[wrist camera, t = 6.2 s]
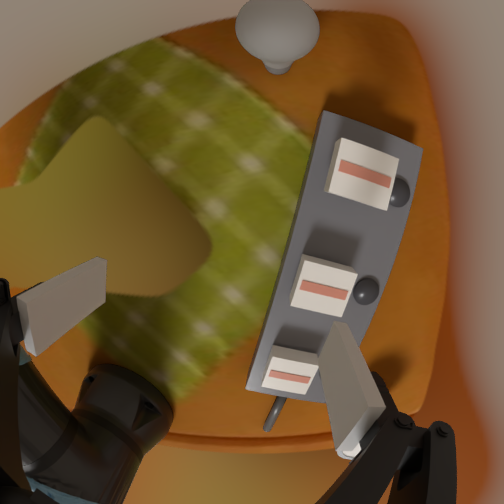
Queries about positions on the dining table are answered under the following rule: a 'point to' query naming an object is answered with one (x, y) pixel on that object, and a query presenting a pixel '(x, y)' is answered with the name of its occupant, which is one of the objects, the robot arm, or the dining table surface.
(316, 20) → the lightbulb
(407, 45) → the dining table surface
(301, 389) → the cord end switch
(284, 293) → the power strip
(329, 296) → the middle switch
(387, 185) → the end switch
